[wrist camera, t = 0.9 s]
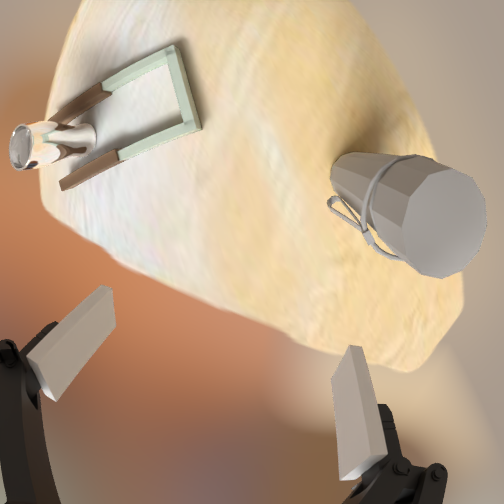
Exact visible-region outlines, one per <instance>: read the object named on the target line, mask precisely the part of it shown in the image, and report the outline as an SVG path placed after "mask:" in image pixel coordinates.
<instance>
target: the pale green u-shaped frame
mask: <svg viewBox="0 0 504 504" xmlns="http://www.w3.org/2000/svg"><path fill="white" fill-rule="evenodd" d="M167 63H168V67H169V71H170V74H171V78H172V82H173V86H174V89H175V93H176V97H177V100H178V104H179V108H180V111H181V115H182V119H183V123H181V124H178V125H176V126H173V127H171V128H168V129H166V130H163V131H161V132H159V133H156V134H154V135H152V136H149V137H147V138H145V139H143V140H140V141H138V142H136V143H134V144H132V145H130V146H128V147H126V148H124V149H121V150H119V151H117V153H118V157H119V160H120V161H121V160H128V159H130V158H132V157H135V156H137V155H139V154H141V153H144V152H146V151H148V150H151V149H153V148H155V147H158V146H160V145H163V144H165V143H168V142H170V141H173V140H175V139H178V138H181V137H183V136H186V135H189V134H191V133H194V132H197V131H200V130H202V128H201V124H200V121H199V117H198V114H197V110H196V107H195V103H194V100H193V96H192V93H191V89H190V85H189V82H188V78H187V75H186V71H185V68H184V64H183V60H182V57H181V53H180V50H179V49H178V48H177V47H176V46H174V45H171V46H169V47H167V48H165V49H162V50H160V51H158V52H156V53H154V54H152V55H150V56H148V57H146V58H144V59H142V60H140V61H138V62H136V63H134V64H132V65H131V66H129V67H127V68H125V69H123V70H122V71H120V72H118V73H116V74H115V75H113V76H111V77H110V78H108V79H106V80H105V81H103V82H102V89H103V90H104V91H109V92H112V91H114V90H116V89H118V88H119V87H121V86H123V85H125V84H127V83H128V82H130V81H132V80H134V79H136V78H138V77H140V76H142V75H144V74H146V73H148V72H150V71H152V70H154V69H156V68H158V67H160V66H162V65H165V64H167Z"/></svg>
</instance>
